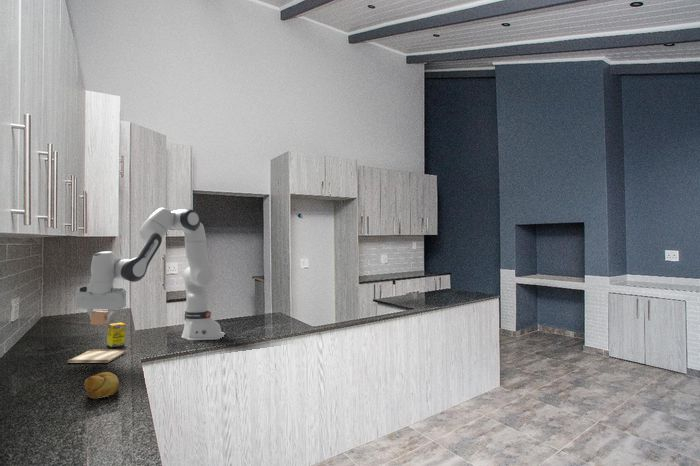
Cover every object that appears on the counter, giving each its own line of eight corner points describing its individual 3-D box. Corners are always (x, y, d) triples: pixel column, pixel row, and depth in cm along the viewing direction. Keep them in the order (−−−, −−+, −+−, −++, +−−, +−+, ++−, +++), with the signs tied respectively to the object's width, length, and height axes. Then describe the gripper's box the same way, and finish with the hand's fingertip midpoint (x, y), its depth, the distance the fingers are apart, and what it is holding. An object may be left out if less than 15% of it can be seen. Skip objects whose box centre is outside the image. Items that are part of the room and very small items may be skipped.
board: (125, 353, 181) (125, 349, 181) (107, 363, 165) (107, 360, 165) (89, 352, 179) (89, 349, 179) (67, 363, 163) (67, 360, 163)
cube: (108, 322, 175) (109, 311, 175) (102, 324, 170) (103, 313, 170) (96, 322, 175) (97, 311, 175) (90, 324, 170) (91, 313, 170)
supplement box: (111, 348, 188) (112, 325, 188) (106, 346, 191) (107, 323, 191) (124, 346, 192) (126, 323, 193) (119, 344, 196) (120, 322, 196)
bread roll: (91, 389, 138) (92, 366, 138) (122, 386, 141) (123, 363, 141) (81, 403, 126) (83, 378, 126) (116, 399, 129) (117, 375, 129)
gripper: (129, 287, 177) (127, 318, 177) (81, 286, 175) (80, 317, 175) (122, 289, 171) (121, 320, 170) (73, 288, 169) (71, 320, 168)
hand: (100, 319), depth 173 cm, fingers closed on cube, 5 cm apart
